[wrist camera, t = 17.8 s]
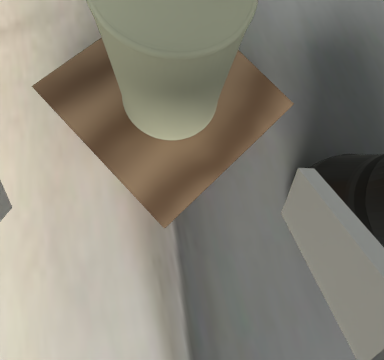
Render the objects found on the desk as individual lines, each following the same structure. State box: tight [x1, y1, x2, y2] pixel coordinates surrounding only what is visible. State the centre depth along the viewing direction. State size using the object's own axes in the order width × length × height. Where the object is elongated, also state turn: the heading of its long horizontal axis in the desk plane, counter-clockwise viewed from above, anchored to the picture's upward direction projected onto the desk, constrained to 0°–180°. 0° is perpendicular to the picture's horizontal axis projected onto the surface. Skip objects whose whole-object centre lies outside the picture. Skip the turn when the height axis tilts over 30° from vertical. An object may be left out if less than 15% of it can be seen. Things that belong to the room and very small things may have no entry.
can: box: [86, 0, 258, 140], centre depth 18 cm, size 9×9×12 cm
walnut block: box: [32, 38, 293, 228], centre depth 28 cm, size 18×18×8 cm
